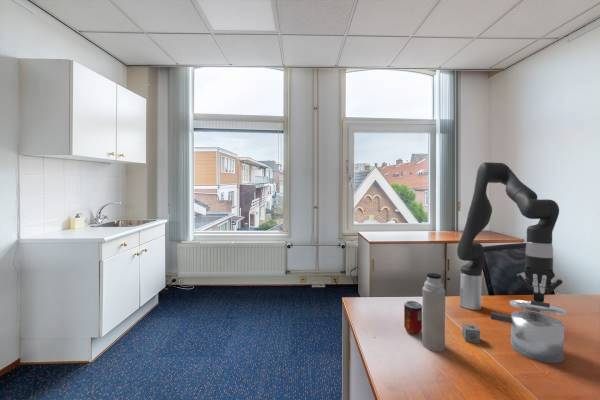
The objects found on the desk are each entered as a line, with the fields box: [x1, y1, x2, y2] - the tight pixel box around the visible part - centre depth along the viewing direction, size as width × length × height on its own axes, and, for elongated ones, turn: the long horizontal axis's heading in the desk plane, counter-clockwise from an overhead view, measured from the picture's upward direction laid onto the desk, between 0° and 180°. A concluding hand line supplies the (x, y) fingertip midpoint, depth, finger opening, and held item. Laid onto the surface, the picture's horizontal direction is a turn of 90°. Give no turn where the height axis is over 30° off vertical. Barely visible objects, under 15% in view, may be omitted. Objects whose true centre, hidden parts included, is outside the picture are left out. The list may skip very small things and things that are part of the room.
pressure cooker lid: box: [509, 299, 567, 316], centre depth 104 cm, size 16×18×2 cm
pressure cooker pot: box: [490, 310, 565, 364], centre depth 107 cm, size 22×17×12 cm
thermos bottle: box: [421, 272, 446, 352], centre depth 108 cm, size 8×8×28 cm
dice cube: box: [461, 323, 481, 344], centre depth 113 cm, size 5×5×5 cm
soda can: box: [403, 300, 422, 336], centre depth 120 cm, size 7×7×12 cm
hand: (538, 302), depth 101 cm, fingers closed
